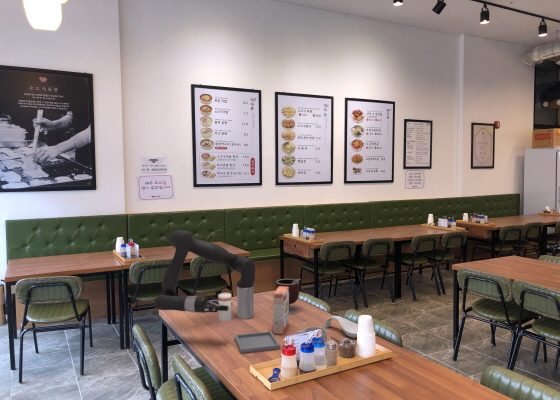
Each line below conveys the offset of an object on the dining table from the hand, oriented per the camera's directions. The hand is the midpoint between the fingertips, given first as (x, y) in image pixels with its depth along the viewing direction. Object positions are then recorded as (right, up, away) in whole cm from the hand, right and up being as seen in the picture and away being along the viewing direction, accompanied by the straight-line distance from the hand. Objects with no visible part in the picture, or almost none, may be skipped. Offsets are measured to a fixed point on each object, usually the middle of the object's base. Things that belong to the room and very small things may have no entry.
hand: (229, 306), depth 209 cm
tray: (+13, -18, 0) cm, 22 cm away
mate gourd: (+29, -14, +49) cm, 58 cm away
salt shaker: (-2, -6, +1) cm, 7 cm away
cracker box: (+24, -17, +18) cm, 35 cm away
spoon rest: (+56, -17, +14) cm, 60 cm away
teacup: (+39, -18, -4) cm, 43 cm away
